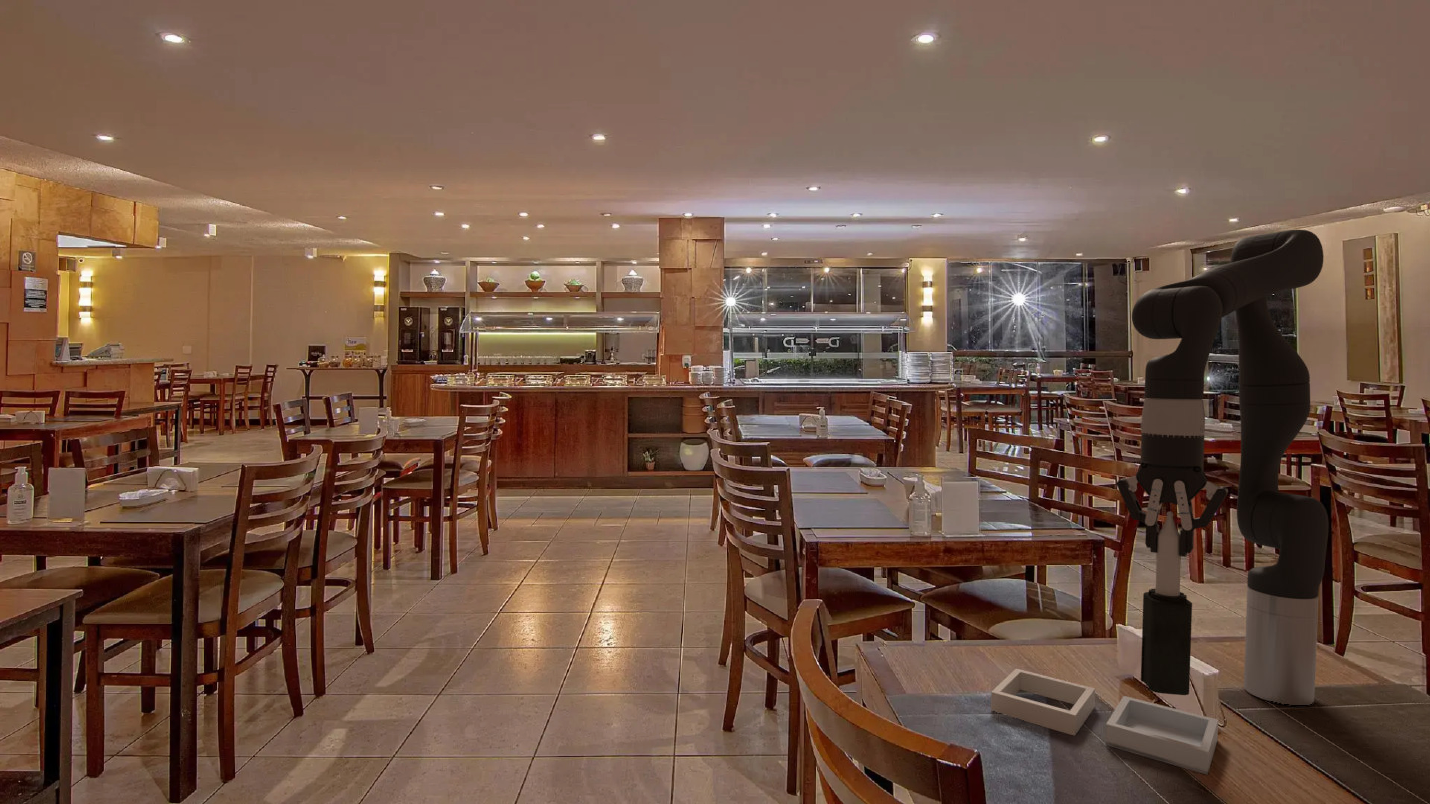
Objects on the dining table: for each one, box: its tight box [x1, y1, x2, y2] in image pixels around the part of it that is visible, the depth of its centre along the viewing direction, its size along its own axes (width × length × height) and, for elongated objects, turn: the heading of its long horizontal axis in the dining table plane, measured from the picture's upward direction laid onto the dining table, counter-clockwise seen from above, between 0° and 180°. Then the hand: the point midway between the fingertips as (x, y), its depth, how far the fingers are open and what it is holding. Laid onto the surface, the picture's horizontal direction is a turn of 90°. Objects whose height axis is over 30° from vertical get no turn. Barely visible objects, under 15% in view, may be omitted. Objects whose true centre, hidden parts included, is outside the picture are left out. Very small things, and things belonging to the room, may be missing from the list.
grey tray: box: [1105, 695, 1219, 776], centre depth 104 cm, size 12×12×3 cm
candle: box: [1140, 511, 1193, 696], centre depth 103 cm, size 5×5×25 cm
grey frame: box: [990, 668, 1096, 736], centre depth 114 cm, size 12×12×3 cm
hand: (1168, 553), depth 103 cm, fingers closed on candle, 3 cm apart
